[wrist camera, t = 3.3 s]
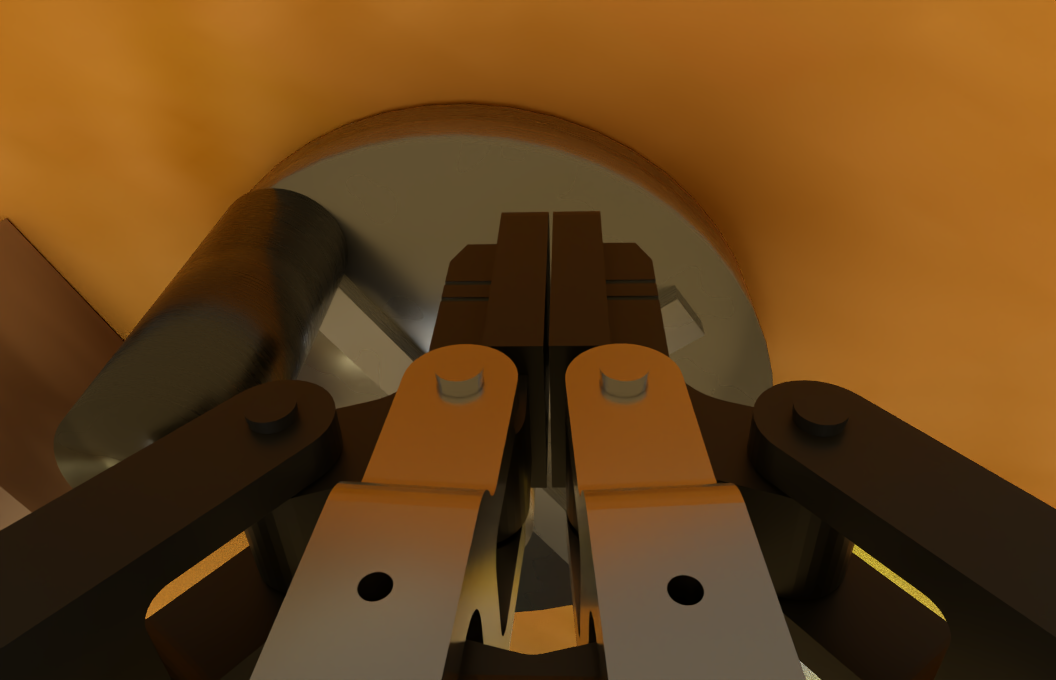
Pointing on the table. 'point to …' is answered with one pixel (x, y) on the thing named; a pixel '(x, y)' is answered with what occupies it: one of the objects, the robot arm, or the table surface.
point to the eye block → (40, 371)
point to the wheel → (405, 283)
